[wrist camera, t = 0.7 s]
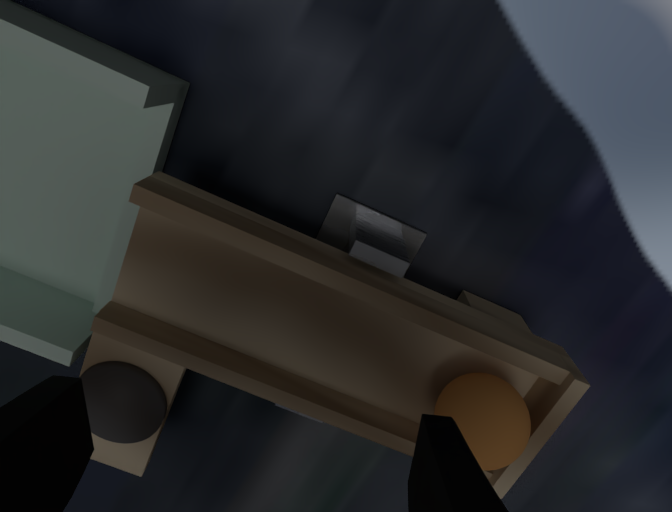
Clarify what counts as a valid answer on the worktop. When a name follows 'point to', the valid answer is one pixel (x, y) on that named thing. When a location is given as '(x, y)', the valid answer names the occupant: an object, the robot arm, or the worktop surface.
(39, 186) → the tray
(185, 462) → the worktop surface
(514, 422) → the ball
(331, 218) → the stand
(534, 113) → the worktop surface
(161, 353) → the wooden ramp
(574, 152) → the worktop surface
